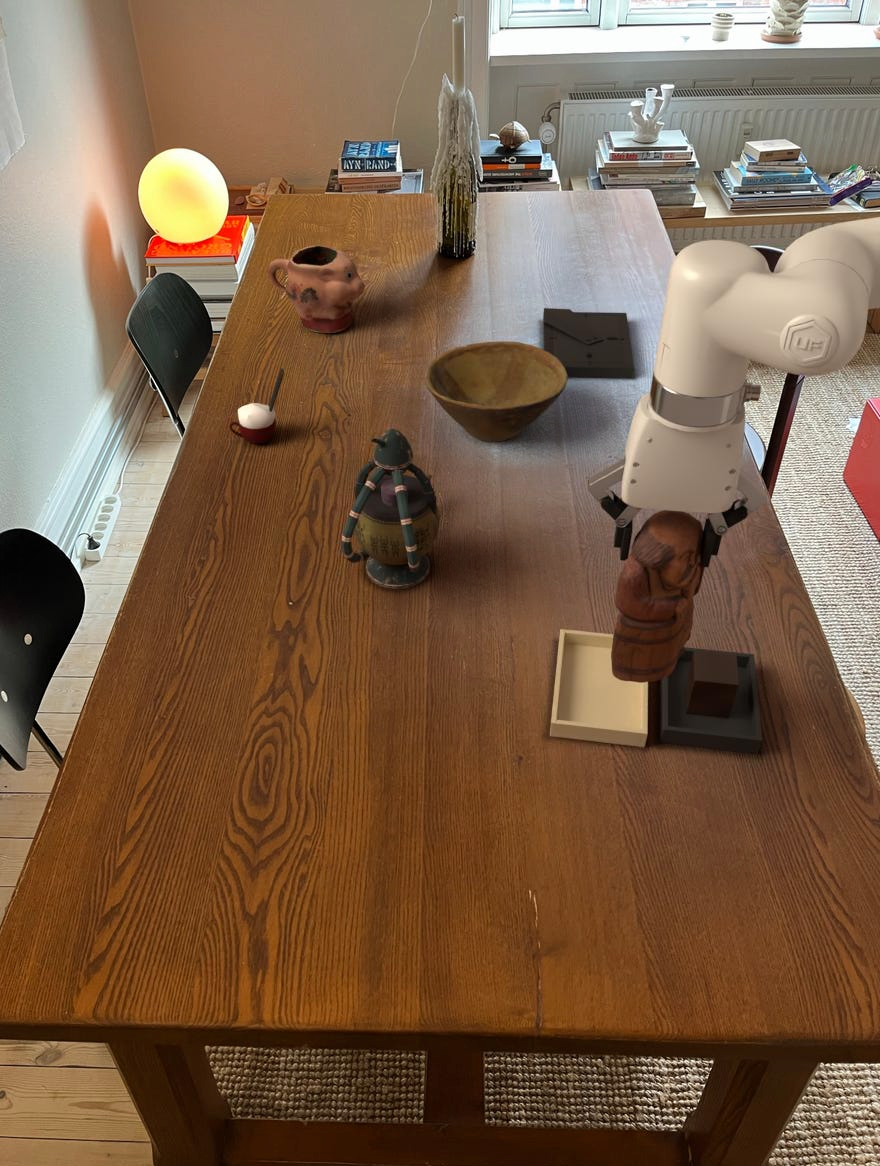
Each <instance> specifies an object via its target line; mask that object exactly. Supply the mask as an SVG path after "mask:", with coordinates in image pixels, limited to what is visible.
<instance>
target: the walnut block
mask: <svg viewBox="0 0 880 1166" xmlns="http://www.w3.org/2000/svg"><path fill="white" fill-rule="evenodd" d="M738 686H739V682H738V669H737V656H736V655H733V654H723V653H713V652H704V651H694V652H693V656H692V660H691V664H690V668H689V672H688V676H687V680H686V684H685V688H686V714H692V715H701V716H710V717H719V718H729V715H730V712H731V709H732V706H733V702H734V699H735V696H736V692H737V689H738Z"/></svg>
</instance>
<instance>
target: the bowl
mask: <svg viewBox="0 0 880 1166" xmlns="http://www.w3.org/2000/svg"><path fill="white" fill-rule="evenodd" d="M568 379H569V377H568V375H567V372H566V369H565V368H564V366H563V364H562V363H561V362H560V360H559V359H558V358H556V357H555V356H554V355H552V354H551V353H549V352H547V351H545V350H543V348H541V347H538V346H534V345H532V344H528V343H523V342H520V341H505V340H504V341H485V342H476V343H471V344H470V343H469V344H466V345H464V346H463V345H460V346H457V347H454V348H452V349H448V350H446V351H444V352H442V353H440V354H439V355H438V356H436V357H435V358H434V359H433V360H432V361H431V362H430V363H429V364H428V366H427V369H426V371H425V375H424V381H425V386H426V388H427V390H428V391H429V392H430V394H431V395H432V396H433V398H434V399H435V401H436V402H437V403H438V404H439V405H440V406H441V408H442V409H443V410H444V411H445V412H446V413H447V414H448V415H449V416H450V417H451V419H453V420H454V421H455V422H456V423H457V424H458V425H459V426H461V428H463V429H464V430H465V432H466V433H467V434H468V435H469V436H471V437H473V438H475V439H477V440H480V441H483V442H489V443H493V442H503V441H507V440H509V439H512V438H514V437H516V436H517V435H520V433H521V432H522V431H524V430H525V429H526V428H528V427H529V426H530V425H531V424H533V423H534V422H535V421H536V420H538V418H540V417H541V416H542V415H544V413H545V412H546V411H547V410H548V409H549V408H550V407H551V406H552V405H553V404H554V403H555V402H556V401H557V399H558V398H559V397H560V396H561V395H562V393H563V392H564V390H565V388H566V386H567V384H568Z"/></svg>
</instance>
